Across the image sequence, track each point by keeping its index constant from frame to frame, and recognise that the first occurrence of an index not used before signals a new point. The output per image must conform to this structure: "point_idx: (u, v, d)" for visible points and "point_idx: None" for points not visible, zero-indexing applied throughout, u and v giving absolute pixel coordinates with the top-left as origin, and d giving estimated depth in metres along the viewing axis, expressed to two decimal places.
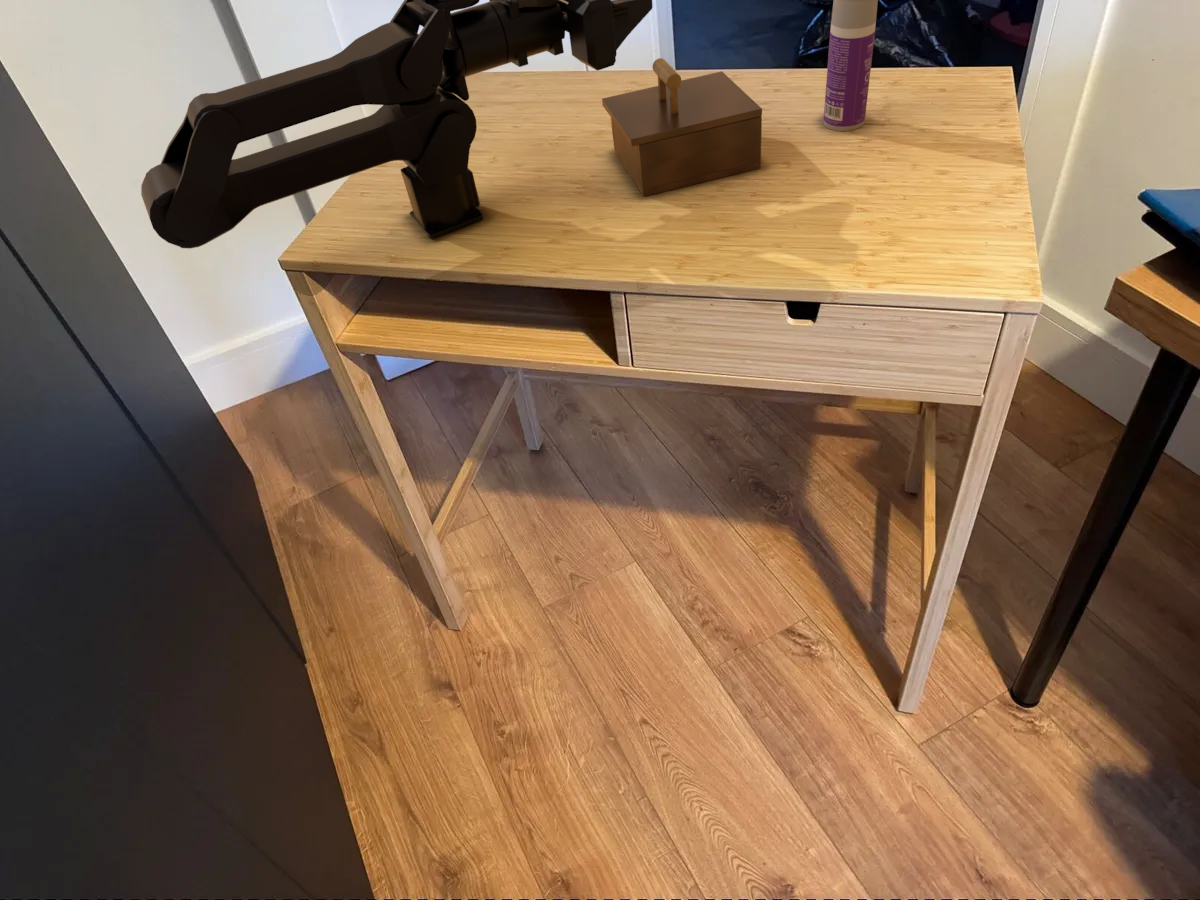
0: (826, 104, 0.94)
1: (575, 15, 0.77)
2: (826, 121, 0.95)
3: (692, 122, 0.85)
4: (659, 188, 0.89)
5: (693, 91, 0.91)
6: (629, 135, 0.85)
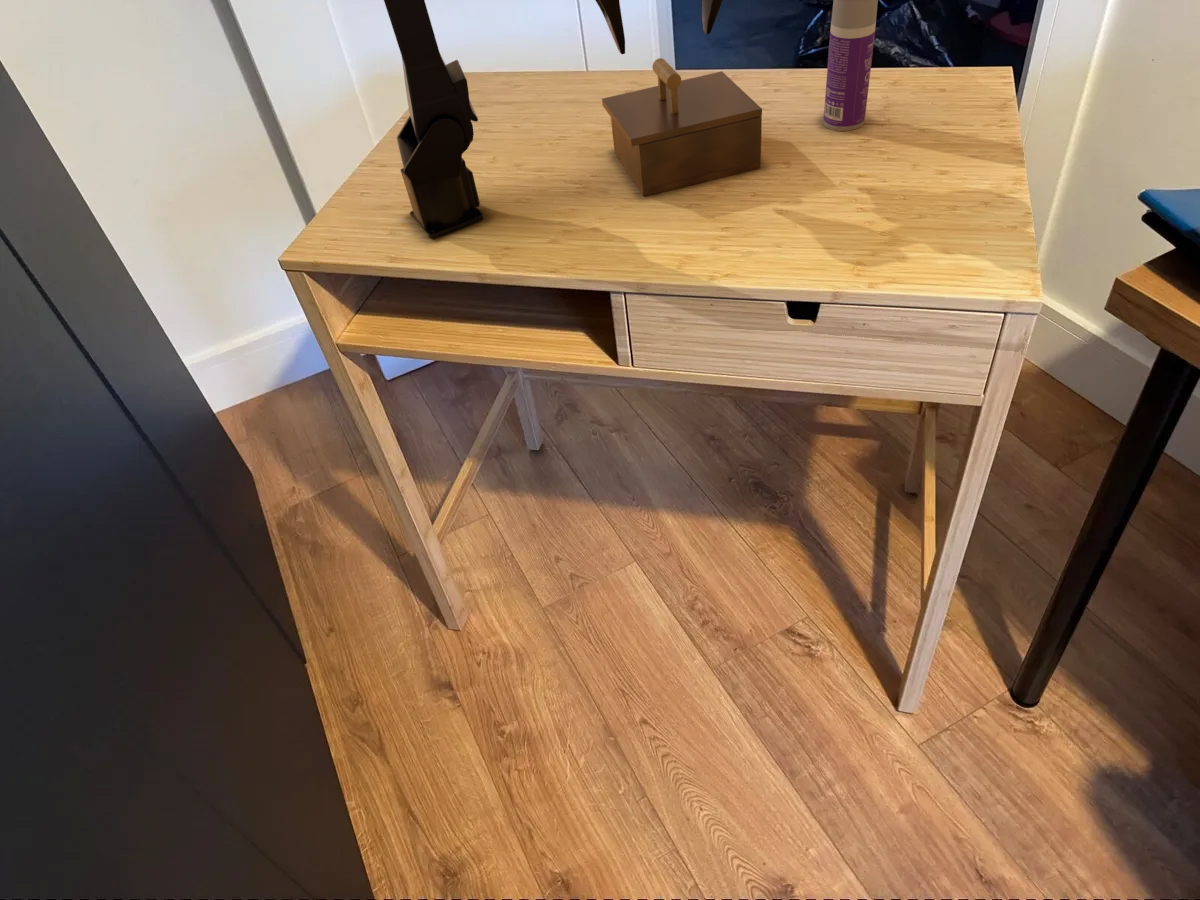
0: (826, 104, 0.94)
1: None
2: (826, 121, 0.95)
3: (692, 122, 0.85)
4: (659, 188, 0.89)
5: (693, 91, 0.91)
6: (629, 135, 0.85)
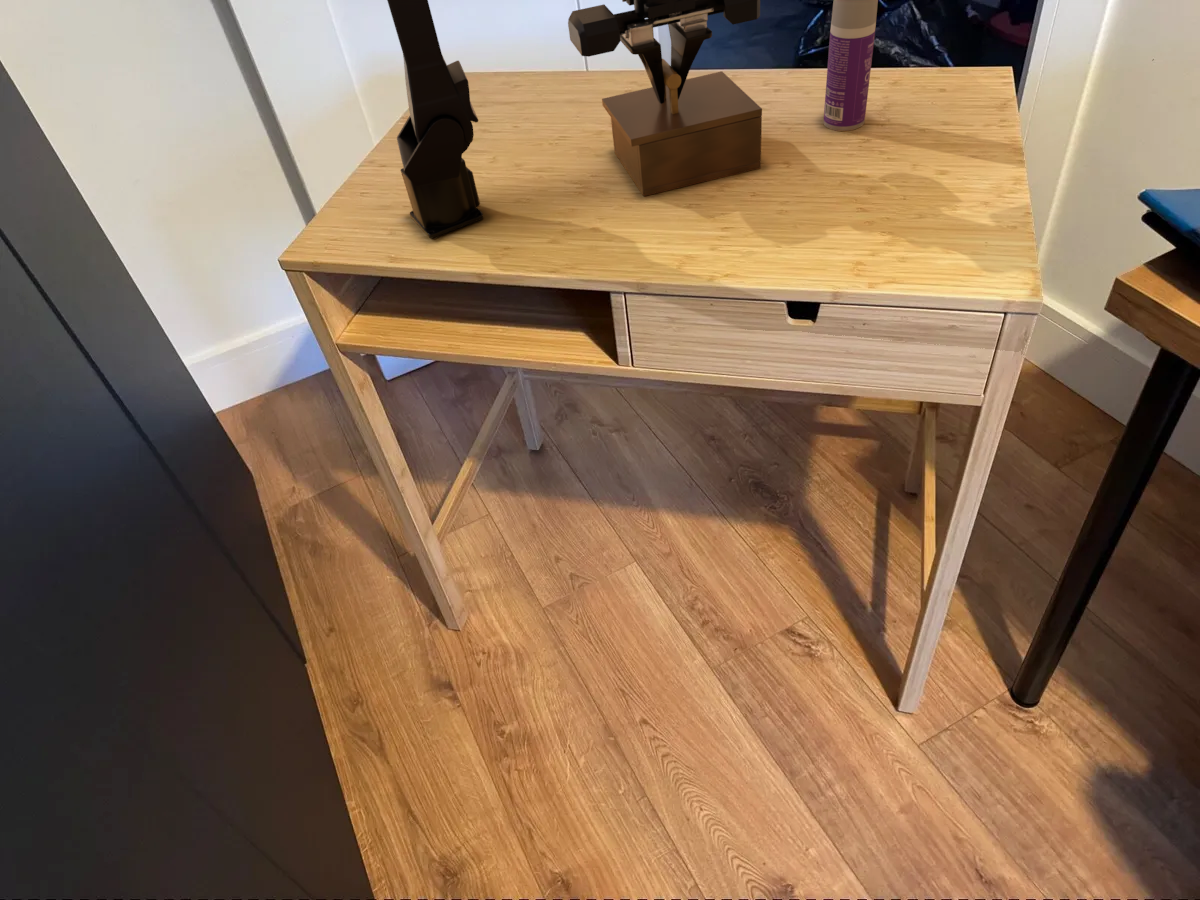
0: (826, 104, 0.94)
1: None
2: (826, 121, 0.95)
3: (692, 122, 0.85)
4: (659, 188, 0.89)
5: (693, 91, 0.91)
6: (629, 135, 0.85)
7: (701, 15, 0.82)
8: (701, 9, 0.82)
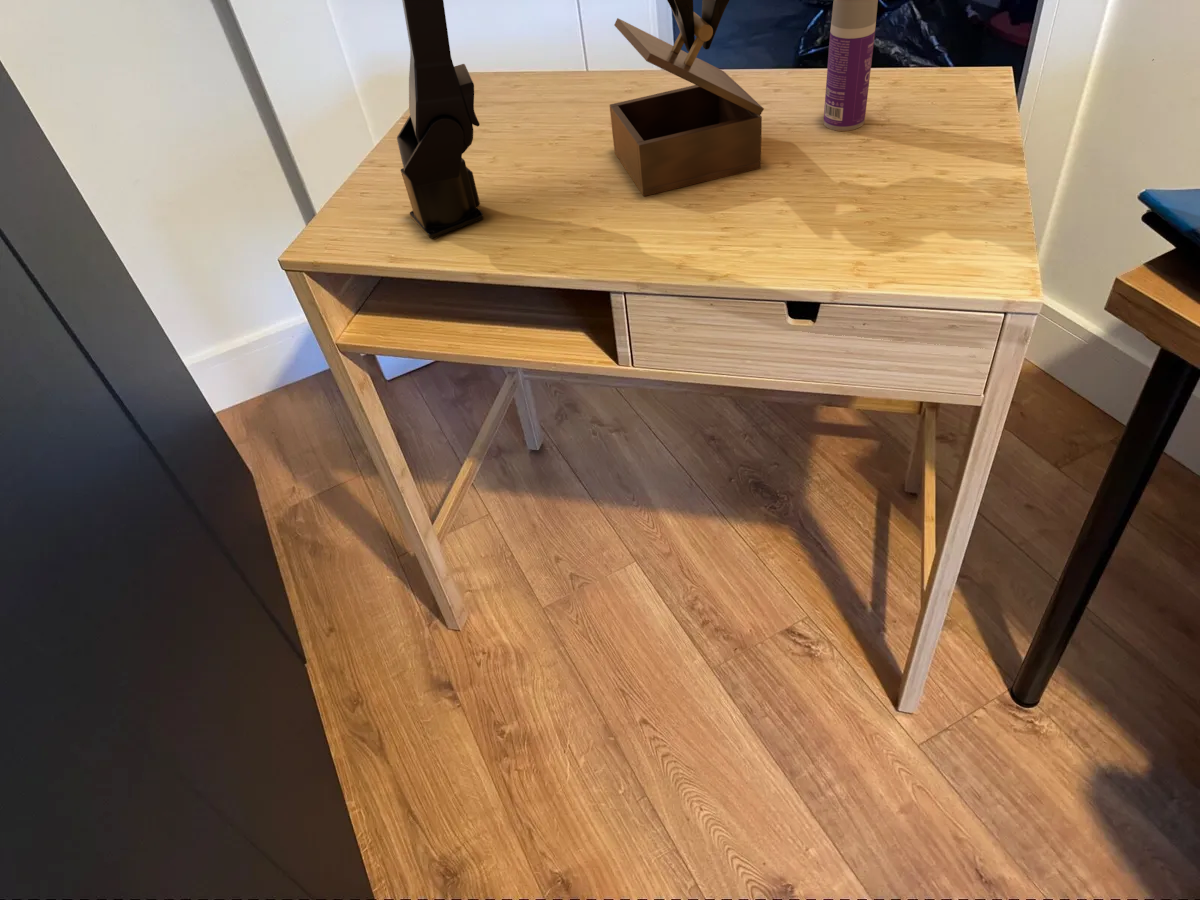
0: (826, 104, 0.94)
1: None
2: (826, 121, 0.95)
3: (705, 78, 0.83)
4: (659, 188, 0.89)
5: (701, 65, 0.89)
6: (648, 50, 0.80)
7: None
8: None
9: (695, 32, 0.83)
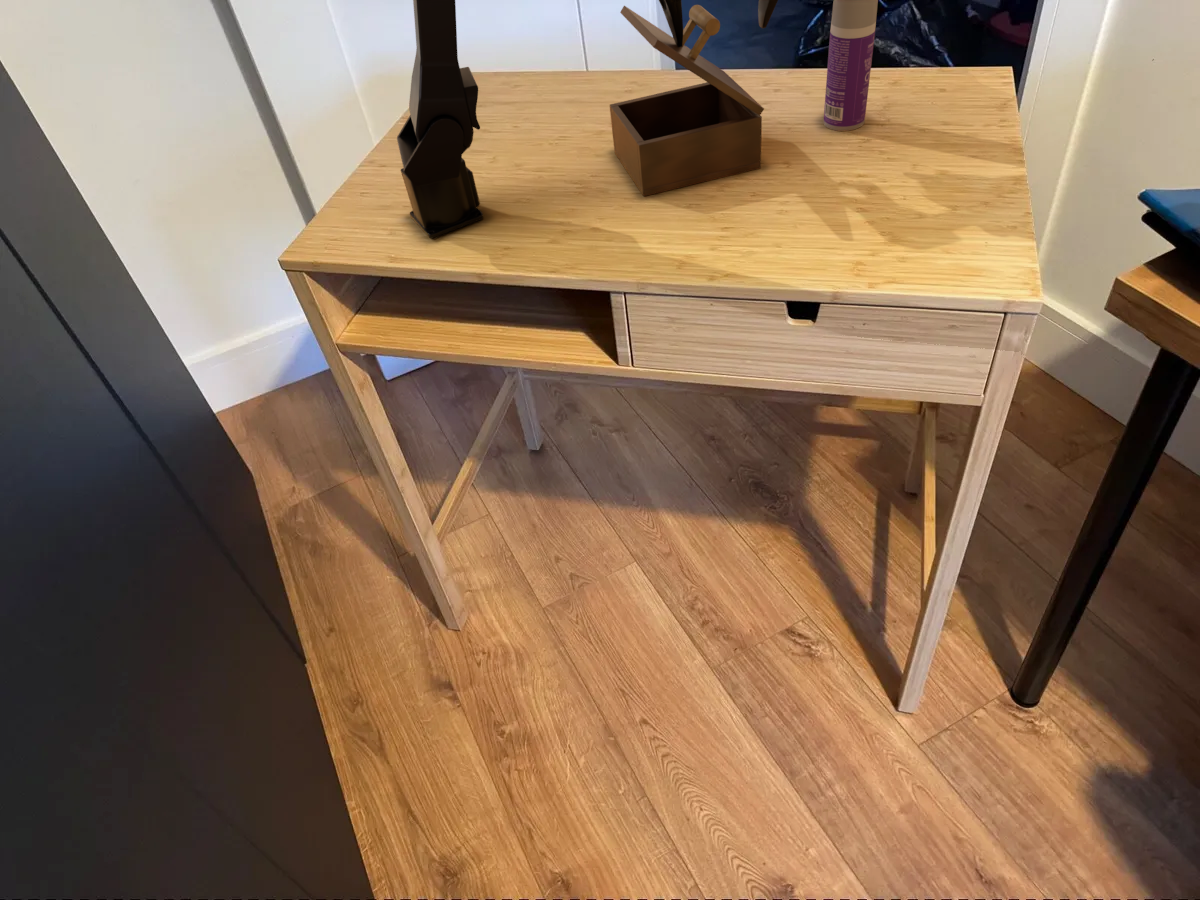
0: (826, 104, 0.94)
1: None
2: (826, 121, 0.95)
3: (709, 72, 0.82)
4: (659, 188, 0.89)
5: (704, 61, 0.89)
6: (655, 37, 0.79)
7: None
8: None
9: (702, 25, 0.82)
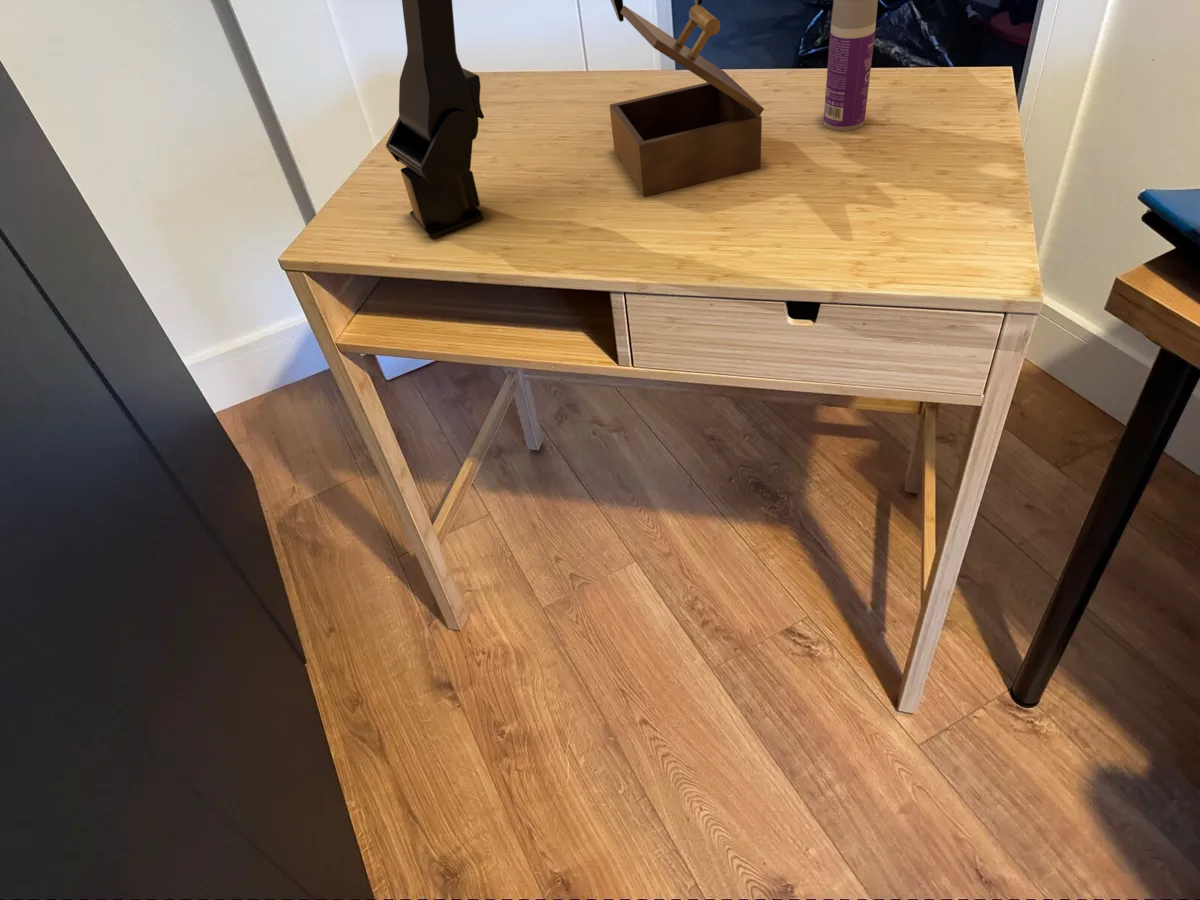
0: (826, 104, 0.94)
1: None
2: (826, 121, 0.95)
3: (709, 72, 0.82)
4: (659, 188, 0.89)
5: (704, 61, 0.89)
6: (655, 37, 0.79)
7: None
8: None
9: (702, 25, 0.82)
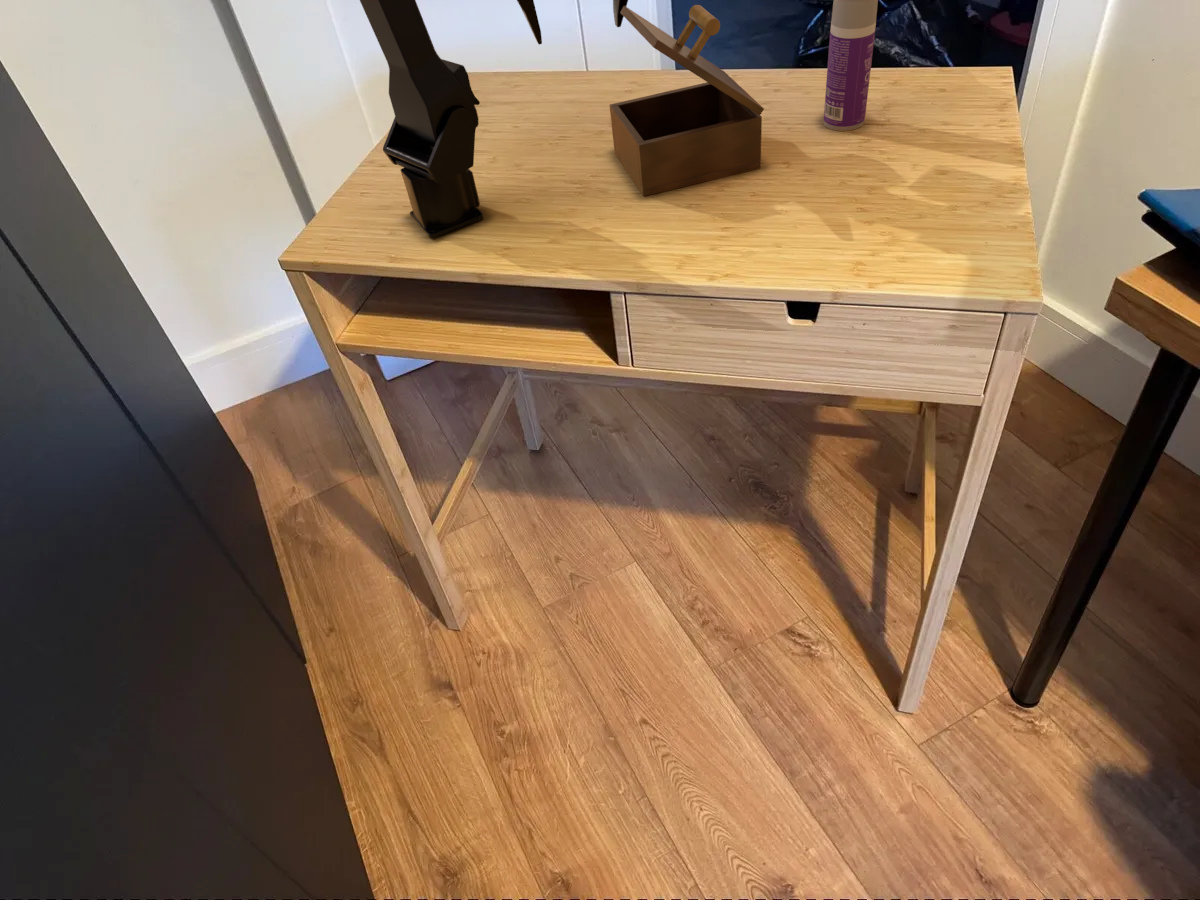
0: (826, 104, 0.94)
1: None
2: (826, 121, 0.95)
3: (709, 72, 0.82)
4: (659, 188, 0.89)
5: (704, 61, 0.89)
6: (655, 37, 0.79)
7: None
8: None
9: (702, 25, 0.82)
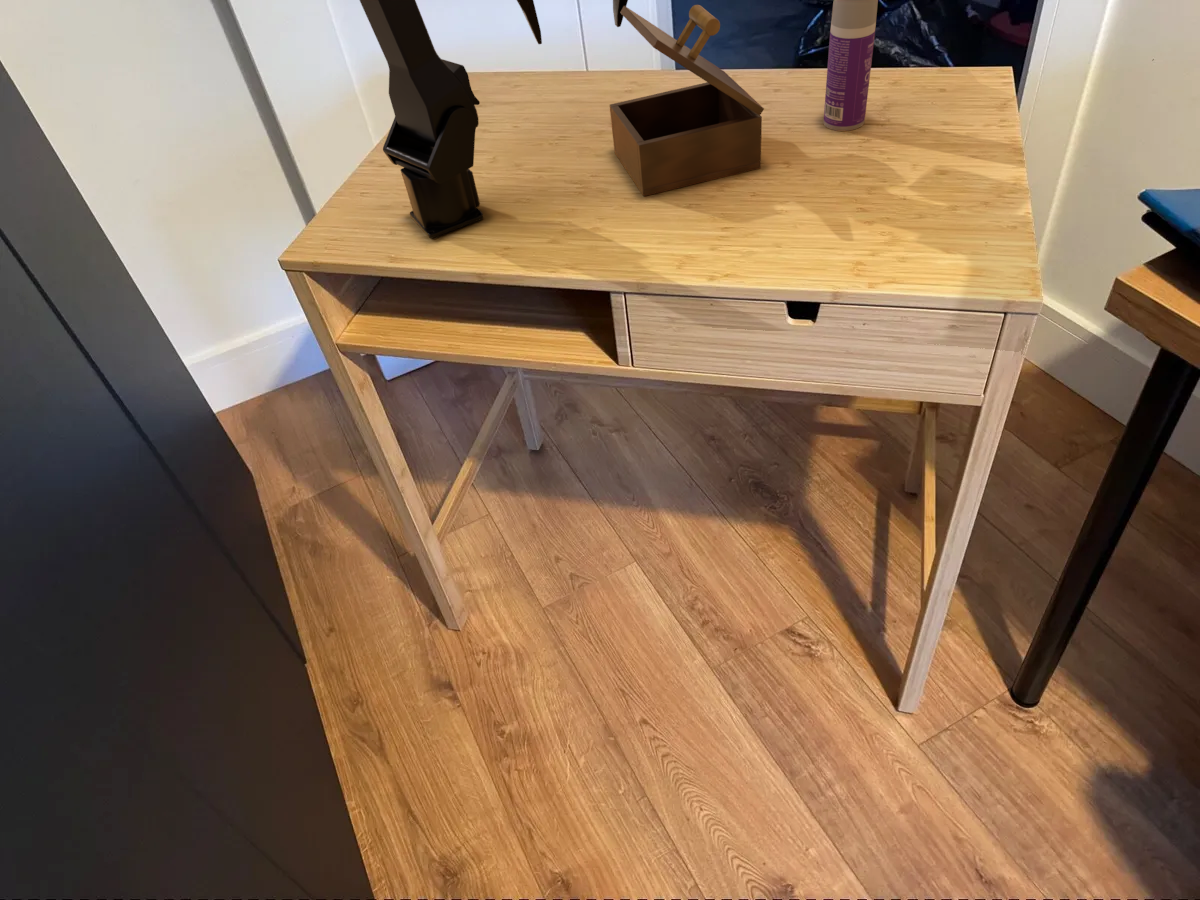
0: (826, 104, 0.94)
1: None
2: (826, 121, 0.95)
3: (709, 72, 0.82)
4: (659, 188, 0.89)
5: (704, 61, 0.89)
6: (655, 37, 0.79)
7: None
8: None
9: (702, 25, 0.82)
